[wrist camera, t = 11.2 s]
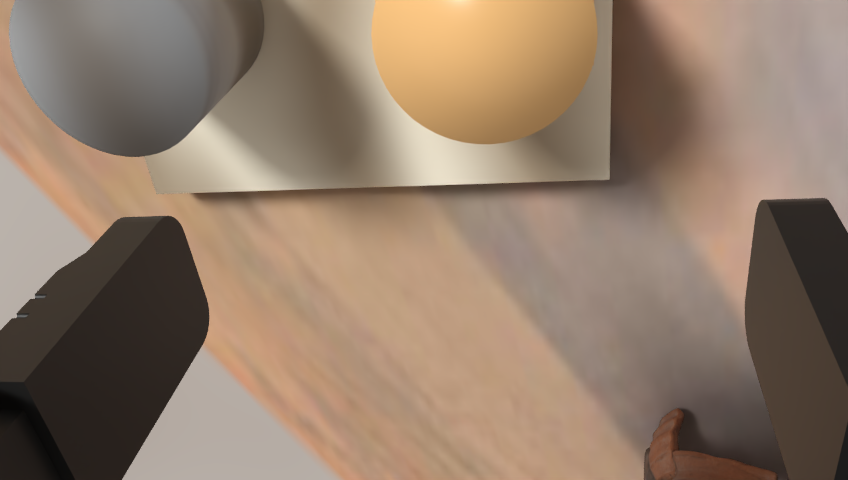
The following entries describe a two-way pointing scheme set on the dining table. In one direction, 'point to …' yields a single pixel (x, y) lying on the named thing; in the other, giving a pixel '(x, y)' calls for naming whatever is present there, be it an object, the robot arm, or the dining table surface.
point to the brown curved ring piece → (691, 459)
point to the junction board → (271, 98)
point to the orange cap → (484, 62)
